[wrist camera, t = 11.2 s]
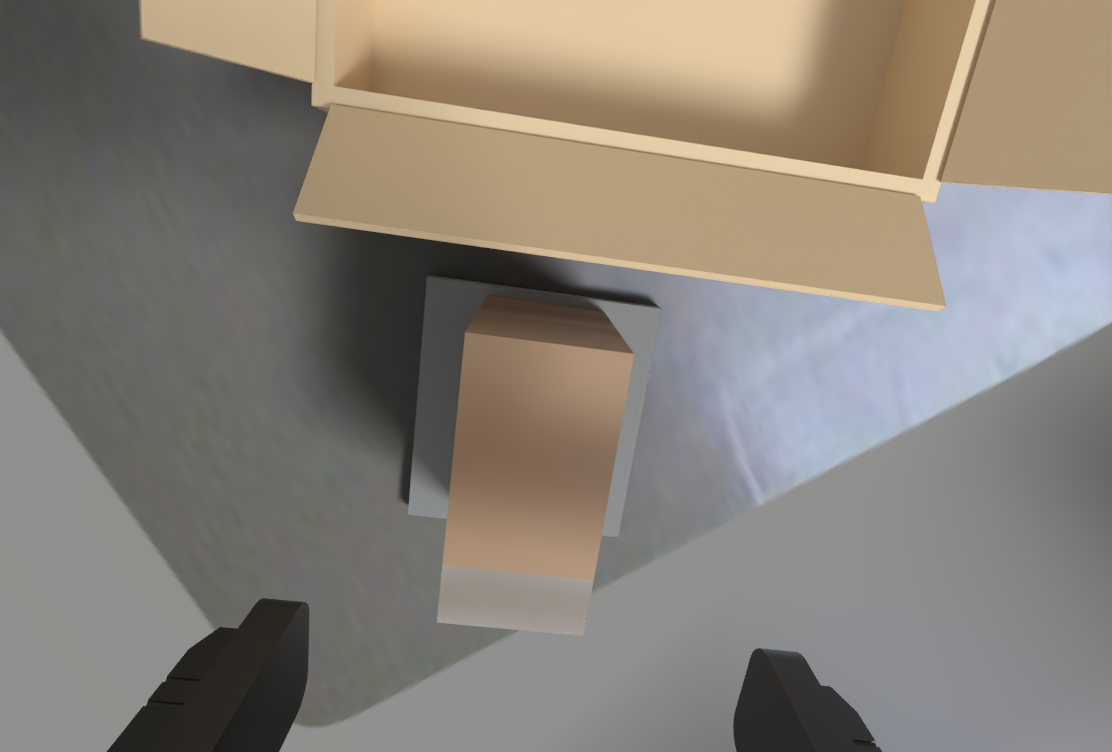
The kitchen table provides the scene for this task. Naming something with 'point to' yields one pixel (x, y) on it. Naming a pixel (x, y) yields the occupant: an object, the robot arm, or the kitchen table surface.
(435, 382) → the mat
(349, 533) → the kitchen table surface
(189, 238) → the kitchen table surface
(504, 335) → the tan rectangular block
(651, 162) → the carton
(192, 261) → the kitchen table surface
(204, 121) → the kitchen table surface
